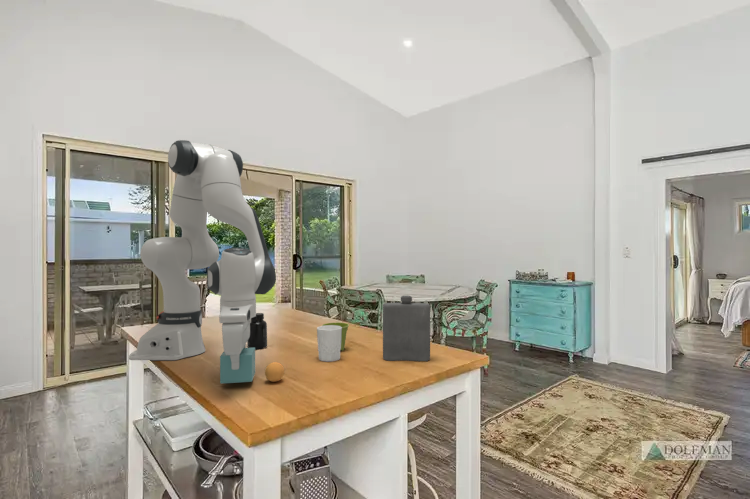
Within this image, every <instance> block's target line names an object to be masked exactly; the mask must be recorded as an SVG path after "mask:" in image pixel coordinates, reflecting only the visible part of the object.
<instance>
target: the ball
mask: <svg viewBox="0 0 750 499" xmlns="http://www.w3.org/2000/svg"><path fill="white" fill-rule="evenodd" d="M264 375H265V377H266V379H267V380H268V381H270V382H272V383H276V382H279V381H281V380H282V379H283V377H284V375H285V367H284V366H283V364H281V363H280V362H278V361H273V362H270V363H269V364H267V366H266V367H265V369H264Z"/></svg>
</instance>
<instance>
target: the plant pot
mask: <svg viewBox="0 0 750 499" xmlns="http://www.w3.org/2000/svg"><path fill="white" fill-rule="evenodd" d="M326 325H336V326H341V327H342V335H341V350H340V352H341V351H342V352H343V351H345V347H346V339H347V334H348V328H349V326H350V324H349V323H347V322H346V323H345V322H328V323H323V324H322V325H321V326H326Z"/></svg>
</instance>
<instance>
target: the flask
mask: <svg viewBox="0 0 750 499" xmlns="http://www.w3.org/2000/svg"><path fill="white" fill-rule="evenodd" d="M400 301H401V302H385V303H383V304H382V359H383V360H384V361H387V362H395V361H396V362H397V361H398V362H400V361H403V362H405V361H407V362H420V361H426V362H429V361H430V360H431V304H429V303H424V302H412V301H413V297H412V296H411V295H401V297H400ZM428 360H429V361H428Z"/></svg>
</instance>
